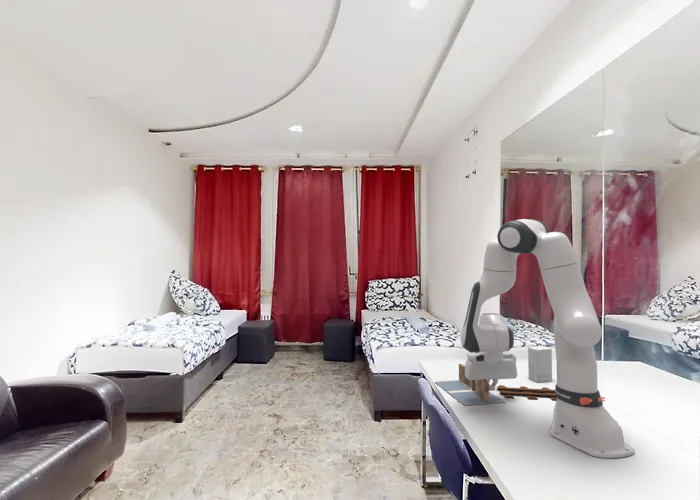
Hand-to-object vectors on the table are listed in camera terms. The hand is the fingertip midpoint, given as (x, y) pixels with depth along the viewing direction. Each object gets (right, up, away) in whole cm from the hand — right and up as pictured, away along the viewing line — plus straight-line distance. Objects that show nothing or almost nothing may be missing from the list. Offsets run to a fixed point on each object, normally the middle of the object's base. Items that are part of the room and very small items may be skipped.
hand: (491, 390), depth 151 cm
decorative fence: (+18, -5, +7) cm, 20 cm away
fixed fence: (-4, -4, +15) cm, 17 cm away
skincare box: (+31, -4, +24) cm, 39 cm away
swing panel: (-3, -3, +2) cm, 5 cm away
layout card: (-7, -4, +9) cm, 12 cm away
